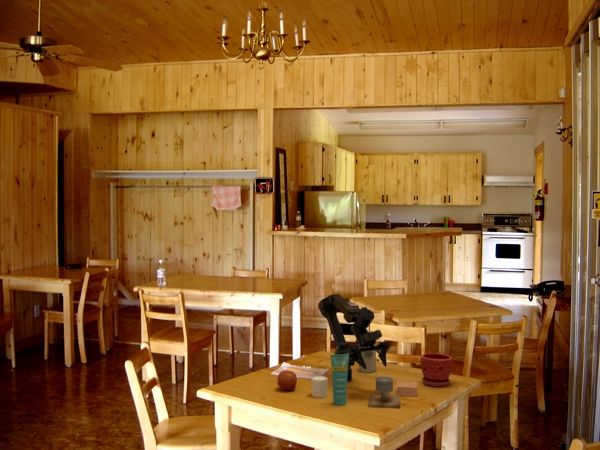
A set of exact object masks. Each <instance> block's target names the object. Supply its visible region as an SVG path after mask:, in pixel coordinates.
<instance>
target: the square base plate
mask: <svg viewBox="0 0 600 450" xmlns="http://www.w3.org/2000/svg"><path fill="white" fill-rule="evenodd" d="M379 393H380V394H369V395H368V408H383V409H387V408H389V409H392V408H393V409H401V396H397V395H395V394H394V395H390V394H389V392H379Z"/></svg>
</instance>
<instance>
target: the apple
mask: <svg viewBox="0 0 600 450" xmlns="http://www.w3.org/2000/svg"><path fill="white" fill-rule="evenodd" d="M297 383H298V377H297V374H296V373H295V372H294V371H292V370H285V369H284V370H281V371H280V372H279V373H278V375H277V385H278V387H279V388H280V389H282V390H284V391H291V390H294V389H295V388H296V387H297Z"/></svg>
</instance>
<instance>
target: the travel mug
mask: <svg viewBox="0 0 600 450" xmlns="http://www.w3.org/2000/svg"><path fill="white" fill-rule="evenodd" d="M374 331H375V330H368V332H374ZM374 346H377V342H376V343H375V344H374ZM361 354H362V357H363V360H364V362H365V364H366V367H367V368H366V369H364V368H363V367H362V366H360V365H359V364H358V371H359V372H362V373H375V372H376V371H377V351H368V352H361Z"/></svg>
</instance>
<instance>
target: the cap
mask: <svg viewBox="0 0 600 450" xmlns="http://www.w3.org/2000/svg"><path fill="white" fill-rule="evenodd" d="M375 391H376V392H379V393H380V392H388V393H391V392H393V391H394V378H392V377H391V376H378V377H376V378H375Z"/></svg>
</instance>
